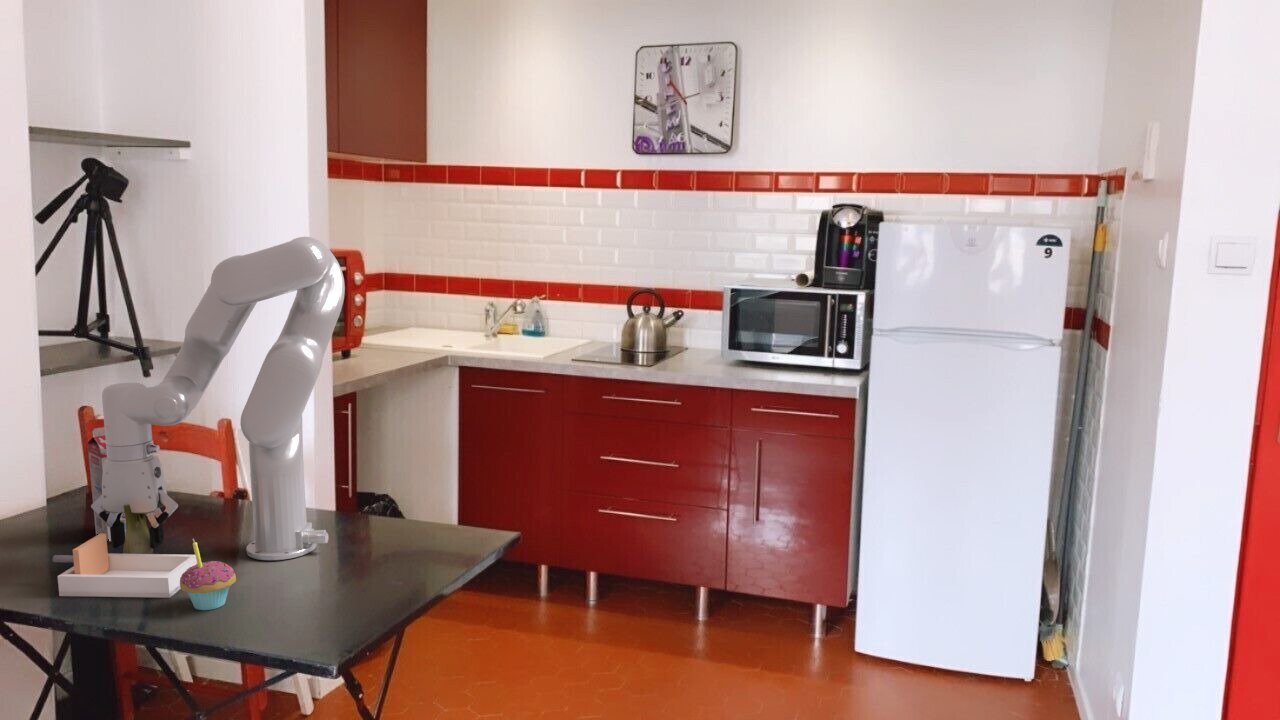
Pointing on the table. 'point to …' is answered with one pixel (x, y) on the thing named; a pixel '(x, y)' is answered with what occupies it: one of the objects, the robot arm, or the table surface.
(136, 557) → the white tray
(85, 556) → the pusher
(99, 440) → the juice carton
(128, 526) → the fennel bulb
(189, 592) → the cupcake
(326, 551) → the table surface
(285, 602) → the table surface
